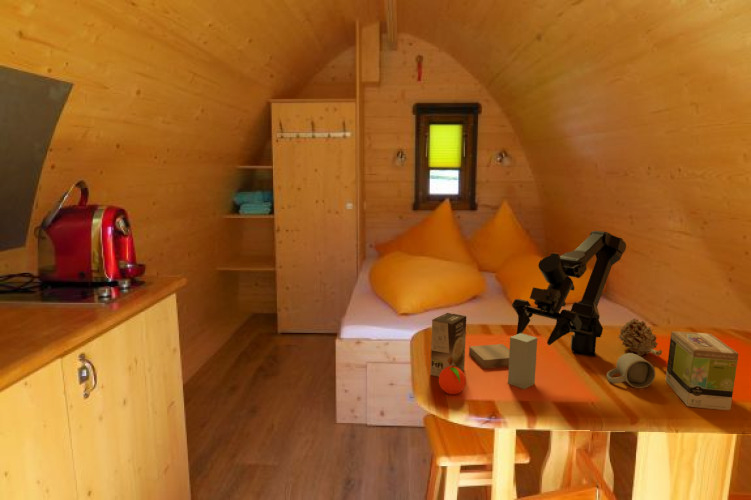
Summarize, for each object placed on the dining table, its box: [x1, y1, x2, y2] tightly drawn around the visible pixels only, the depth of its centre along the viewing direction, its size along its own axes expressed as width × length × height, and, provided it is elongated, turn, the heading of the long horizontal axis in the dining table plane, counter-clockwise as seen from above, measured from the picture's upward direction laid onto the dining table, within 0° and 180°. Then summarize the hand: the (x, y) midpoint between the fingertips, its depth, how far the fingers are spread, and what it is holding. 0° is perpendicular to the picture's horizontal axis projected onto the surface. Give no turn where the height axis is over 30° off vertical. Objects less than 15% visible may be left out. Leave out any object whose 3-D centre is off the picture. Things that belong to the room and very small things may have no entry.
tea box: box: [665, 330, 739, 411], centre depth 126 cm, size 15×10×15 cm, turn 168°
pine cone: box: [618, 318, 663, 357], centre depth 152 cm, size 22×10×10 cm, turn 2°
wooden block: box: [507, 332, 538, 390], centre depth 133 cm, size 5×5×13 cm
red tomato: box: [438, 366, 467, 395], centre depth 128 cm, size 8×7×7 cm
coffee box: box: [430, 312, 467, 378], centre depth 140 cm, size 9×6×16 cm
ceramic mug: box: [606, 352, 656, 389], centre depth 135 cm, size 11×8×8 cm
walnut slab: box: [468, 343, 510, 369], centre depth 151 cm, size 11×11×3 cm
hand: (532, 339), depth 135 cm, fingers open, 9 cm apart
